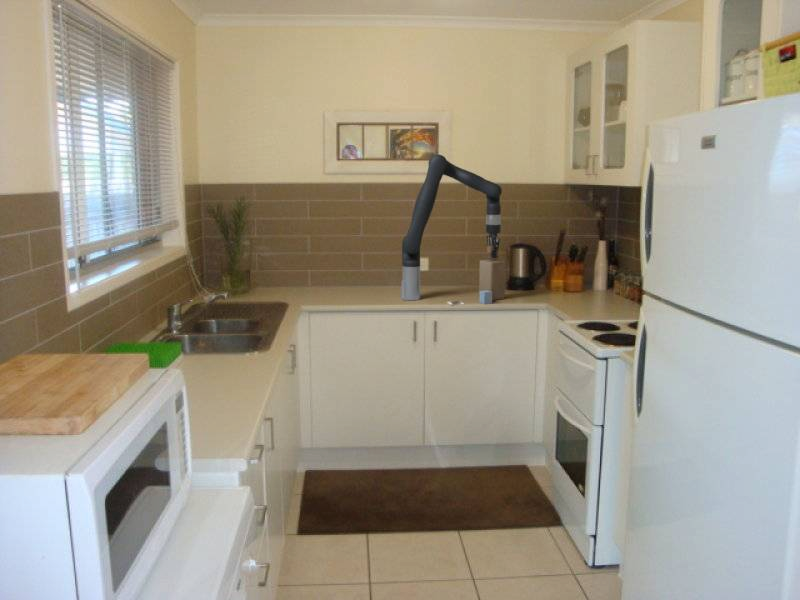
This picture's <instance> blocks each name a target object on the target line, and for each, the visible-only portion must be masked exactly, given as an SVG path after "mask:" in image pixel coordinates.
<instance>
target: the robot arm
mask: <svg viewBox="0 0 800 600" xmlns="http://www.w3.org/2000/svg"><path fill="white" fill-rule="evenodd" d="M427 164H428V168H427V172H426V177H425V179H424V182H423V184H422V186H421V188H420V190H419V192H418V195H417V197H416V200H415V202H414V206H413V211H412V216H411V221H410V225H409V228H408V230H407V233H406V235H405V236H404V237H403V239H402V242H401V262H402V263H401V265H402V269H401V271H402V273H401V274H402V277H401V278H402V279H401V283H400V284H401V285H400V286H401V289H400V290H401V299H402V300H404V301H419V300H421V245H422V244H421V243H422V238H423V235H424V232H425V230H426V229H425V228H426V226H427V224H428V221H429V219H430V217H431V214H432V212H433V209H434V205H435V202H436V199H437V196H438V191H439V186H440V183H441V180H442V178H443V177H444V176H446V177H449V178H452V179H454V180H455V181H457V182H459V183H461V184H463V185H464V186H466V187H469V188H470V189H473V190H475V191H478V192H481V193H482V194H485V195H486V217H485V233H486V234H488V235H487V236H486V246H492V257H493V258H495V259H497V258H496V256H497V249H499V247H500V241H501V238H499V236H498V234H500V233H502V232H501V229H502V227H501V226H502V225H501V224H502V222H501V221H502V218H501V211H502V210H501V201H500V198H501V195H502V192H503V190H502V187H501V185H499V184H497V183H495V182H492V181H490V180H488V179H485V178H484V177H482V176H480V175H478V174H477V173H474V172H472V171H469V170H467V169H464V168H461V167H459V166H457V165H455V164H453V163H452V162H451V161H448V160H447V158H446V157H445V156H443V155H442V154H434V155H432V156H431V157H430V158H429V160H428V163H427ZM495 246H496V247H495Z"/></svg>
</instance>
